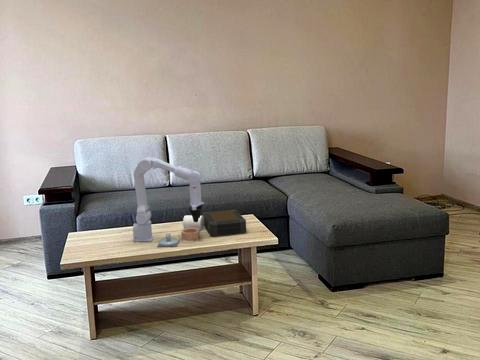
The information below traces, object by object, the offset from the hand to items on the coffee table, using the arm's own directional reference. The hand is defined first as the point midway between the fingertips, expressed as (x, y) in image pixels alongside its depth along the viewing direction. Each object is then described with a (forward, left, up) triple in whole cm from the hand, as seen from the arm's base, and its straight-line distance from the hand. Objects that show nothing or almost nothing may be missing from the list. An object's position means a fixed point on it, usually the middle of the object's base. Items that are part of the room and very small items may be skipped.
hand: (196, 219), depth 262 cm
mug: (-4, +18, -10) cm, 21 cm away
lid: (-14, -8, -10) cm, 19 cm away
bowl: (-4, +1, -10) cm, 11 cm away
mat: (-14, -8, -10) cm, 19 cm away
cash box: (+13, +16, -11) cm, 23 cm away
